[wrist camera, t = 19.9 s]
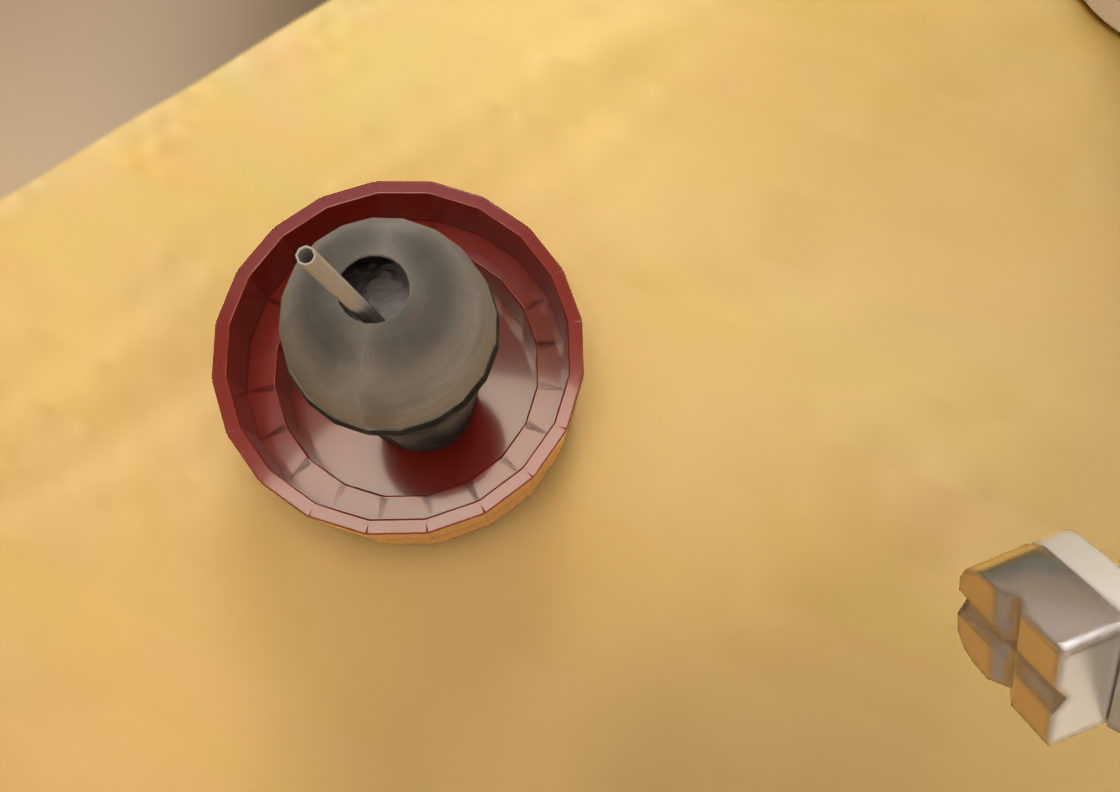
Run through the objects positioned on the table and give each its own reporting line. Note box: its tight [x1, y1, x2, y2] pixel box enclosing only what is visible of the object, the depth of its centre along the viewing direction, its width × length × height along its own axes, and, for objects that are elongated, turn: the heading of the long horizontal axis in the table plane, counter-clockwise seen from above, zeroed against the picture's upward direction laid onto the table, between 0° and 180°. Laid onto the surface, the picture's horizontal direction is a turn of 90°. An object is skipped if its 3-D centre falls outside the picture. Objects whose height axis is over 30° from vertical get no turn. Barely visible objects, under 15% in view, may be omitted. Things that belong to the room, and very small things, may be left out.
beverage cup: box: [279, 218, 499, 452], centre depth 31 cm, size 7×7×20 cm
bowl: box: [212, 181, 584, 544], centre depth 39 cm, size 15×15×6 cm
